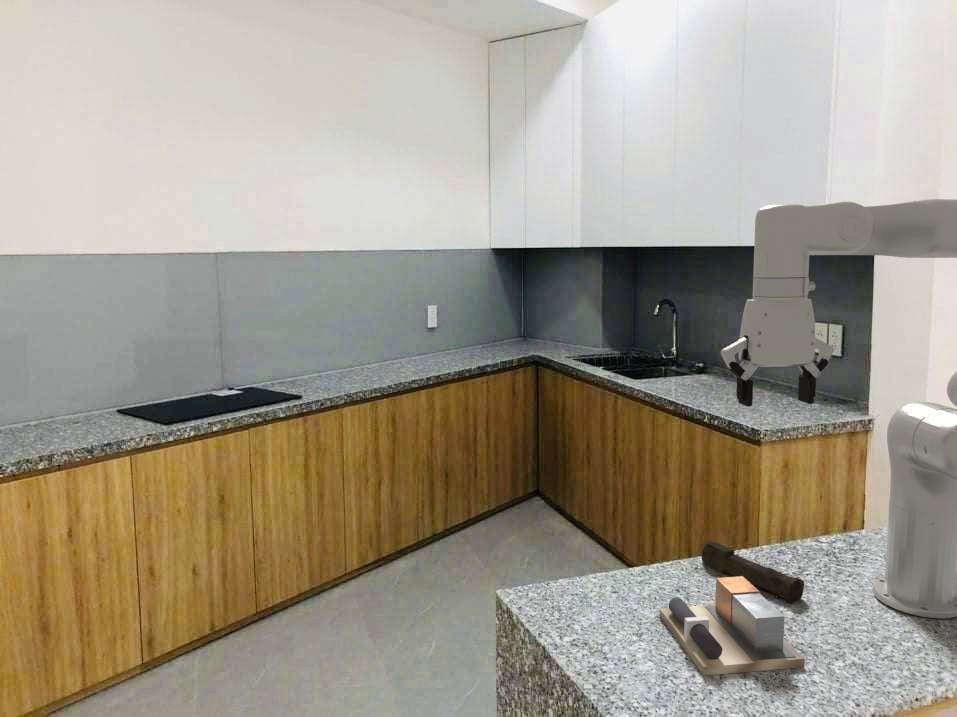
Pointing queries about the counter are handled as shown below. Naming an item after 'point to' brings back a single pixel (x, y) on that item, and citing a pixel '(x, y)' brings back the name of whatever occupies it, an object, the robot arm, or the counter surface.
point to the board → (729, 647)
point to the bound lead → (695, 628)
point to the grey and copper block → (749, 614)
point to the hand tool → (752, 572)
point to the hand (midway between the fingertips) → (775, 403)
